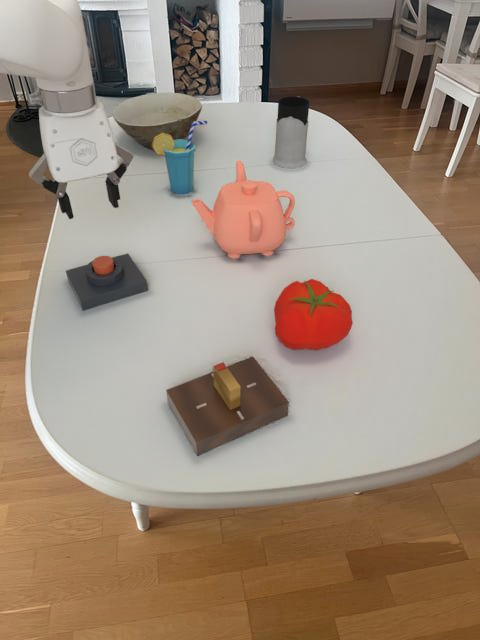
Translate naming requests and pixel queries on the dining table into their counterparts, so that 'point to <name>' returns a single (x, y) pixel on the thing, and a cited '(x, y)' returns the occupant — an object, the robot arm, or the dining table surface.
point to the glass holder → (291, 132)
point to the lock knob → (226, 386)
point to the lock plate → (214, 415)
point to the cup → (178, 159)
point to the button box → (106, 282)
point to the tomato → (311, 316)
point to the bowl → (157, 116)
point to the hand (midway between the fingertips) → (91, 208)
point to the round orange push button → (103, 265)
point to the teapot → (247, 216)
